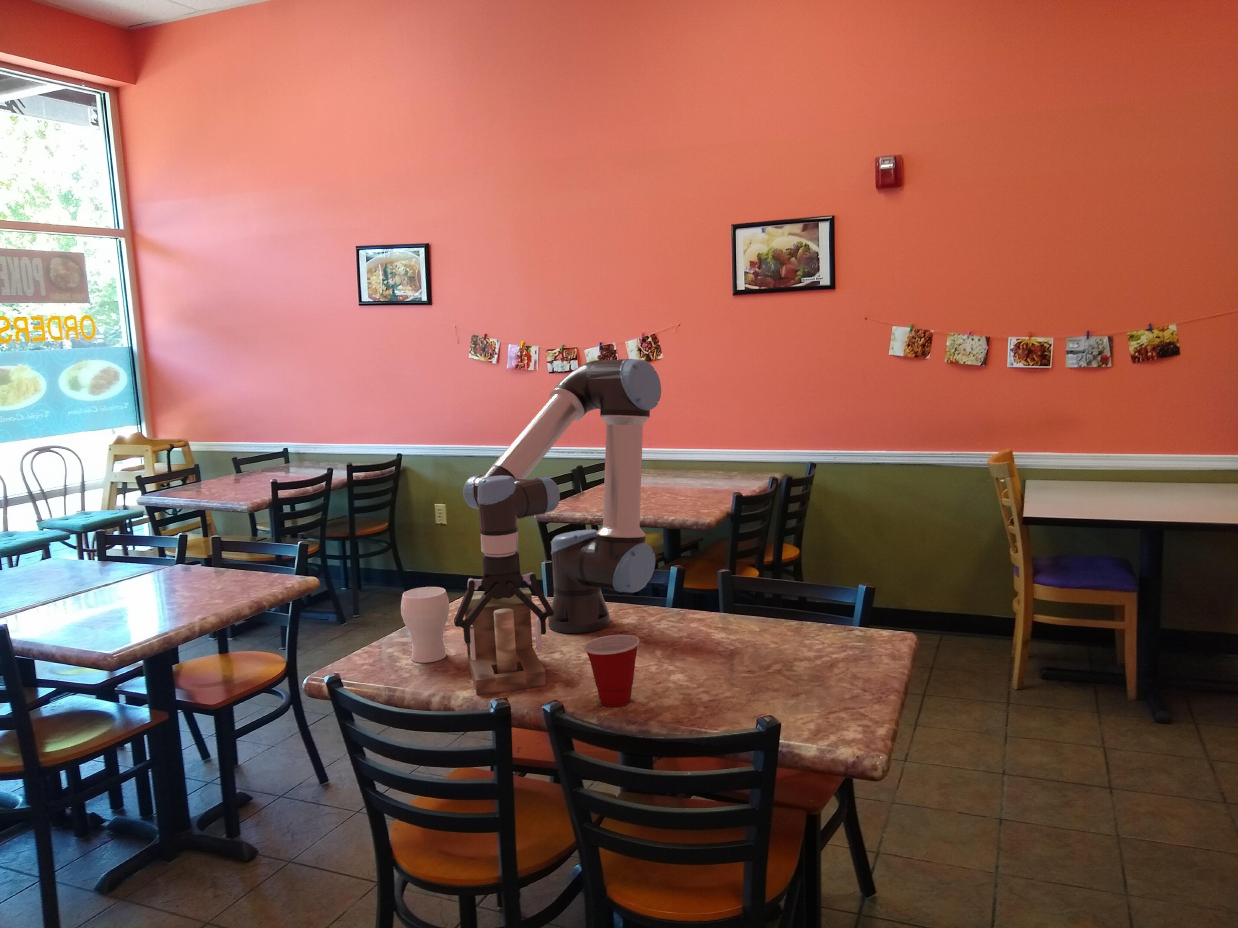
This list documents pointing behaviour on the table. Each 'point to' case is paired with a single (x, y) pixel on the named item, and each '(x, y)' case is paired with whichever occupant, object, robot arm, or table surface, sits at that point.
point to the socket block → (485, 648)
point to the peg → (505, 641)
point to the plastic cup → (613, 667)
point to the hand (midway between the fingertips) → (506, 653)
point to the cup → (426, 622)
